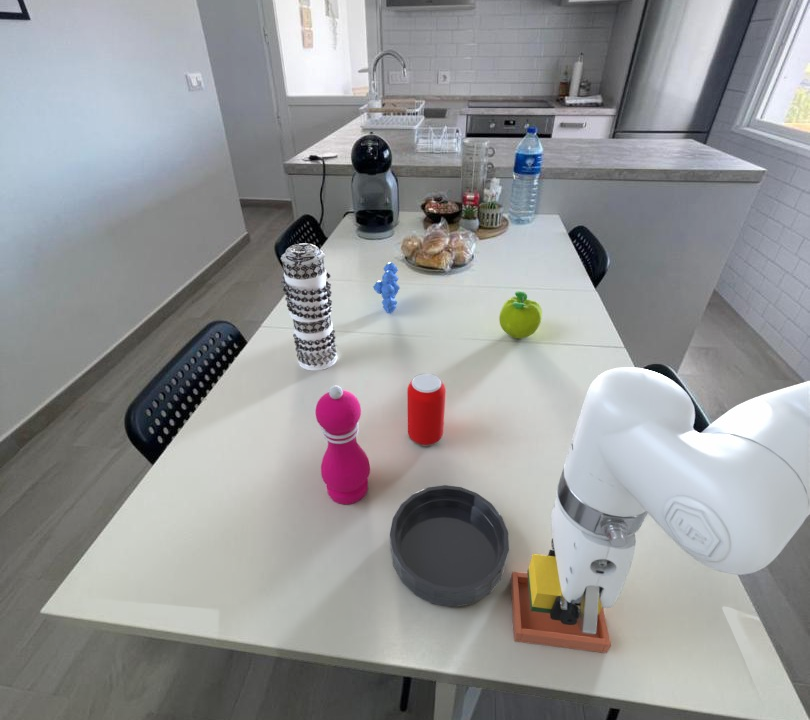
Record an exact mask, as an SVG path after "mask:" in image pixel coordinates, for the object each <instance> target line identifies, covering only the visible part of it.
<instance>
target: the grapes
mask: <svg viewBox="0 0 810 720" xmlns="http://www.w3.org/2000/svg"><path fill="white" fill-rule="evenodd" d="M382 270H384V273H383V275H382V276H381V279H382V280H378V281H376V282H375V283H374V285H373V286H372V287H373V289H374V291H375V293H377V294H379V295H381V298H382V299H383V300H382V301H381V304H382V309H383V310H384V311H385V312H386V314H389V315H391V314H392V313H393V312H394V311H395V310H396V309H397V304H398V301H397V300H396V296H397V294H398V293H399V290H400V289H401V287H400V285H399V284H398V283H397V282H398V281H399V277H398V275H397V272H398V271H399V269H398V267H397V265H396V264H395V263H394V262H392V261H389V262H387V263H386V264H385V266H384V267H383V269H382Z"/></svg>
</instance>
